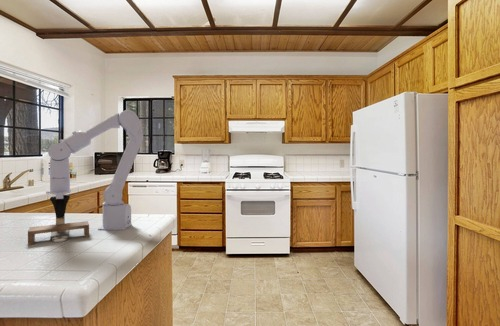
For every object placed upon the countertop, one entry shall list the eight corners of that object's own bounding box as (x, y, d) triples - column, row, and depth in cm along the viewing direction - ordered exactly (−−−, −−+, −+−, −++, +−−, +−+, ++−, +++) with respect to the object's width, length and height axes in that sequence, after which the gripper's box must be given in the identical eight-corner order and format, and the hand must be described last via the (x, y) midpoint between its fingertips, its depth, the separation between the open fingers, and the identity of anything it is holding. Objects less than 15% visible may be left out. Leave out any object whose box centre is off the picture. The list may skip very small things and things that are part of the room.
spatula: (52, 231, 100) (51, 206, 100) (68, 229, 103) (68, 205, 102) (50, 240, 90) (49, 212, 90) (69, 237, 92) (68, 210, 92)
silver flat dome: (69, 239, 92) (69, 235, 92) (63, 242, 88) (63, 239, 88) (56, 239, 91) (56, 236, 91) (49, 243, 87) (49, 240, 87)
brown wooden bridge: (87, 232, 99) (87, 221, 99) (89, 236, 94) (89, 224, 94) (30, 239, 90) (29, 227, 90) (27, 244, 85) (27, 231, 85)
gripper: (47, 177, 103) (47, 214, 103) (44, 180, 91) (45, 222, 91) (70, 176, 107) (70, 212, 107) (70, 179, 95) (70, 219, 95)
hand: (60, 216), depth 99 cm, fingers closed on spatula
